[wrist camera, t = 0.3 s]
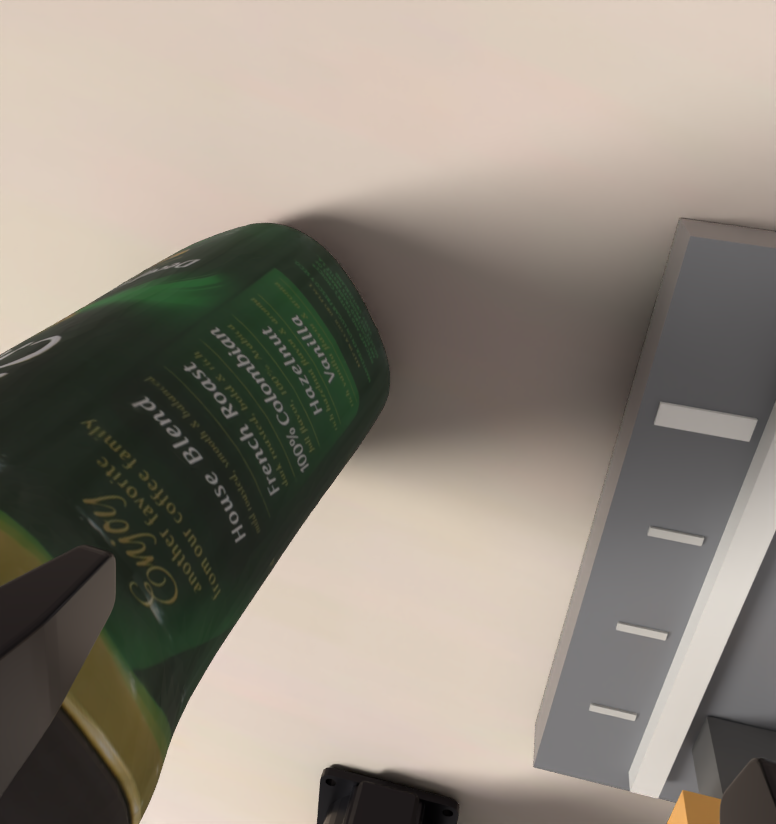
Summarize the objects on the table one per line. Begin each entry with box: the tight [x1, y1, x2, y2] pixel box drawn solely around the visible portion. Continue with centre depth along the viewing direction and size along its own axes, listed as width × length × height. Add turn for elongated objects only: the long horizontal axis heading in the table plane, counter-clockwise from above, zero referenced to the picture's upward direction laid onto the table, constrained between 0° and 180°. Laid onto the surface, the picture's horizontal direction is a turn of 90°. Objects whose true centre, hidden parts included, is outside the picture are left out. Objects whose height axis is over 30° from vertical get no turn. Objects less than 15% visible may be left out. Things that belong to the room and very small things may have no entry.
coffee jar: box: [0, 223, 390, 824], centre depth 17 cm, size 10×8×19 cm
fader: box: [667, 716, 776, 824], centre depth 24 cm, size 3×6×5 cm, turn 84°
